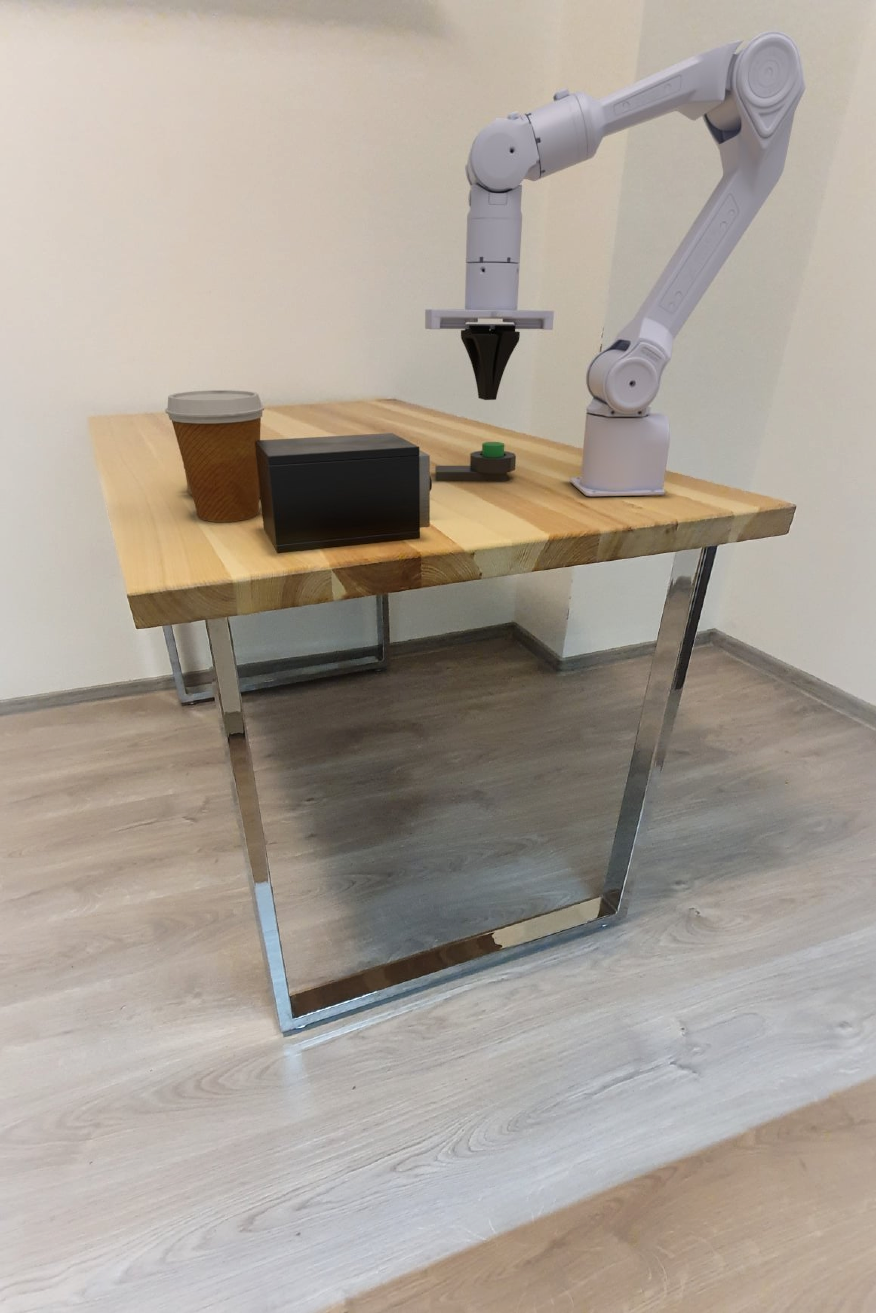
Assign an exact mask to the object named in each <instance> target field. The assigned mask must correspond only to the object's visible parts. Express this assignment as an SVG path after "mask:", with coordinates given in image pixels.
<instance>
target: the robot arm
mask: <svg viewBox="0 0 876 1313" xmlns="http://www.w3.org/2000/svg"><path fill="white" fill-rule="evenodd" d="M743 42H744V39H739V40H735V41H731V42H727V43H725V44H722V45H719V46H716V47H713V48H711V49H708V50H705V51H703V52H700V53H697V54H695V55H692V56H689V57H688V58H686V59H683V60H681V61H679V62H677V63H675V64H672V65H671V66H668V67H666V68H664V69H662V70H660V71H657V72H656V73H653V74H651V75H648V76H647V77H644V78H643V79H640V80H638V81H636V82H633V83H631V84H628V85H627V86H624V87H622V88H620V89H619V90H616V91H614V92H612V93H610V94H608V95H605V96H603V97H600V98H595V97H594V96H592V95H590V94H588V93H586V92H585V91H583V90H577V91H575V92H572V93H570V91H569V90H570V89H569V88H568V87H564V88H563V89H559V90H558V91H556V92H555V93H554V95H553V97H552V98H553V101H551V102H549V103H546V104H544V105H541V106H539V107H536V108H535V109H532V110H530V111H527V112H525V113H522V114H520V113H519V111H518V110H515V111H513V112H510V113H508V115H507V117H497V118H494V119H493V121H492V122H491V123H488V124H487V125H485V126H484V127H483V128H482V129H481V130H480V131H479V132H478V133H477V135H476V136H475V138H474V139H473V141H472V145H471V148H470V150H469V153H468V156H467V161H466V165H465V166H464V167H465V168H464V169H465V175H466V179H467V183H468V185H469V186H470V187H469V192H468V198H467V199H468V201H467V203H468V207H469V211H468V213H467V215H466V241H465V242H466V245H465V248H466V249H465V263H466V264H465V284H464V285H465V288H464V308H463V309H458V308H457V309H456V308H455V309H450V308H449V309H447V308H446V309H445V308H444V309H441V308H439V309H438V308H436V309H435V308H425V310H424V311H425V312H424V317H425V320H424V328H425V329H426V330H460V339H461V341H462V343H463V345H464V347H465V351H466V353H467V355H468V358H469V360H470V364H471V366H472V371H473V374H474V378H475V383H476V389H477V397H478V399H480V400H483V401H495V400H497V396H498V392H499V389H500V385H501V381H502V378H503V376H504V372H505V370H506V367H507V364H508V362H509V360H510V358H511V356H512V354H513V352H514V350H515V349H516V347H517V345H518V343H519V341H520V337H521V332H520V331H517V330H543V331H544V330H545V331H546V330H547V331H548V330H549V331H550V330H552V331H553V328H554V317H555V316H554V314H555V310H535V309H534V310H532V309H531V310H529V309H527V310H526V309H518V303H519V286H520V285H519V283H520V268H521V267H520V263H521V249H522V247H521V245H522V229H523V228H522V227H523V213H522V195H523V194H522V193H523V185H522V184H521V183H522V182H523V181H524V180H528V181H530V182H531V181H532V182H536V181H539V180H541V179H543V178H546V177H548V176H551V175H553V174H557V173H558V172H561V171H563V170H565V169H568V168H570V167H573V166H576V165H578V164H580V163H583V162H585V161H588V160H591V159H593V158H594V157H595V155H596V153H597V152H598V149H599V147H600V145H601V143H602V141H603V139H604V138H606V137H608V136H611V135H613V134H616V133H619V132H622V131H624V130H627V129H630V128H632V127H635V126H638V125H641V124H643V123H646V122H649V121H652V120H655V119H657V118H660V117H662V116H665V115H668V114H671V113H673V112H678V113H679V114H681V115H683V116H684V117H686V118H688V119H689V120H690V121H697V120H698V119H700V118H701V117H702V120H703V123H704V124H705V126H706V128H707V130H708V132H709V134H710V136H711V137H712V139H713V141H714V143H715V145H716V147H717V149H718V151H719V157H720V162H721V167H722V177H721V179H719V182H718V183H717V185H716V186H715V188H714V189H713V191H712V193H711V194H710V196H709V197H708V198H707V200H706V202H705V204H704V205H703V207H702V208H701V210H700V211H699V213H698V215H697V216H696V218H695V219H694V221H693V223H692V224H691V225H690V227H689V229H688V231H687V232H686V233H685V236H684V237H683V239H682V241H680V243H679V245H678V246H677V249H675V251H674V253H673V255H672V256H671V258H670V259H669V261H668V262H667V265H666V266H664V269H663V270H662V272H661V274H660V275H659V277H658V279H657V280H656V282H655V284H654V285H653V286H652V288H651V290H650V291H649V292H648V294H647V295H646V297H645V299H644V301H643V302H642V304H641V305H640V307H639V308H638V310H637V312H636V313H635V315H634V316H633V317H632V318H631V319H630V321H629V322H628V323H627V324H626V325H625V326H623V328H622V329H621V330H620V331H619V332H618V333H617V334H616V336H615V338H614V339H613V340H612V342H611V343H610V344H609V345H608V346H607V347H606V348H604V349H603V350H601V351H600V352H599V353H597V354H596V355H595V356H594V357H593V358H592V359H591V361H590V363H589V364H588V367H587V369H586V373H585V384H586V389H587V391H588V393H589V394H590V396H591V397H592V399H591V401H590V403H589V404H588V405H587V406H586V413H585V414H586V415H585V423H584V424H585V425H584V435H583V446H582V455H581V456H582V457H581V468H580V477H571V478H570V479H569V483H571V485H573V486H574V487H575V488H577V489H578V490H579V491H580V492H581V493H582V494H584V496H586V497H625V496H628V497H631V496H665V495H666V490H664V484H665V477H666V471H667V464H668V456H669V450H670V441H671V428H670V427H671V426H670V421H669V419H668V417H667V416H666V415H665V414H664V413H659V412H652V413H651V408H652V407H650V405H651V404H652V403H653V401H654V400H655V399H656V397H657V395H658V393H659V390H660V386H661V380H662V376H663V373H664V372H665V369H666V367H667V365H668V364H669V362H670V361H671V359H672V353H673V347H674V341H675V339H676V337H677V336H678V335H679V332H680V331H681V330H682V328H683V327H684V325H685V324H686V322H687V321H688V319H689V317H690V316H691V315H692V313H693V312H694V310H695V308H697V305H698V304H699V303H700V301H701V299H702V298H703V296H704V295H705V293H706V292H707V291H708V289H709V287H710V286H711V284H712V283H713V281H714V280H715V278H716V276H717V275H718V273H719V272H720V271H721V269H722V267H723V266H724V264H725V263H726V262H727V260H728V258H729V257H730V255H732V253H733V251H734V249H735V248H736V246H737V245H738V244H739V242H740V240H741V239H742V237H743V236H744V235H745V232H746V231H747V230H748V228H749V227H750V225H751V224H752V222H753V220H754V219H755V217H756V216H757V215H758V213H759V211H760V210H761V208H762V207H763V205H764V204H765V203H766V200H767V199H768V198H769V196H770V194H771V193H772V191H773V190H774V188H775V187H776V185H777V184H778V182H779V181H780V179H781V176H782V175H783V173H784V168H785V165H786V160H787V155H788V149H789V145H790V138H791V133H792V128H793V123H794V120H795V114H796V110H797V108H798V105H799V103H800V101H801V99H802V97H803V94H804V93H805V91H806V82H805V76H804V70H803V64H802V57H801V52H800V49H799V47H798V45H797V43H796V41H795V40H794V39H793V37H791V36H790V35H789V34H787V33H785V32H784V31H780V30H766V31H763V32H761V33H758V34H757V35H755V36H754V37H752V38H751V39H749V41H748V42H747V43H746V44H744V46H743V47H742V49H740V50H739V51H737V50H738V48H739V46H741V45H742V43H743ZM736 51H737V52H736ZM479 319H483V320H484V319H485V320H487V319H489V320H491V319H493V320H502V323H478V321H479Z"/></svg>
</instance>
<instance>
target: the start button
mask: <svg viewBox="0 0 876 1313" xmlns="http://www.w3.org/2000/svg"><path fill="white" fill-rule="evenodd" d="M481 451H482V456H486V457H502V456H504V451H505V443H503V442H499V441H486V442H483V443H482V444H481Z"/></svg>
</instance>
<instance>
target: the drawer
mask: <svg viewBox="0 0 876 1313" xmlns="http://www.w3.org/2000/svg"><path fill="white" fill-rule="evenodd" d="M419 451H420V455H419V457H420V529H421V528H429V527H430V524H431V519H430V518H431V517H430V516H431V512H430V511H431V508H430V507H431V498H430V497H431V491H432V488H433V480H432V477H431V473H430V471H431V469H430V468H431V466H430V465H431V464H430V463H431V460H430V459H431V455H430V454H428V453H427V452H425V451H423V450H421V449H419Z"/></svg>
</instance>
